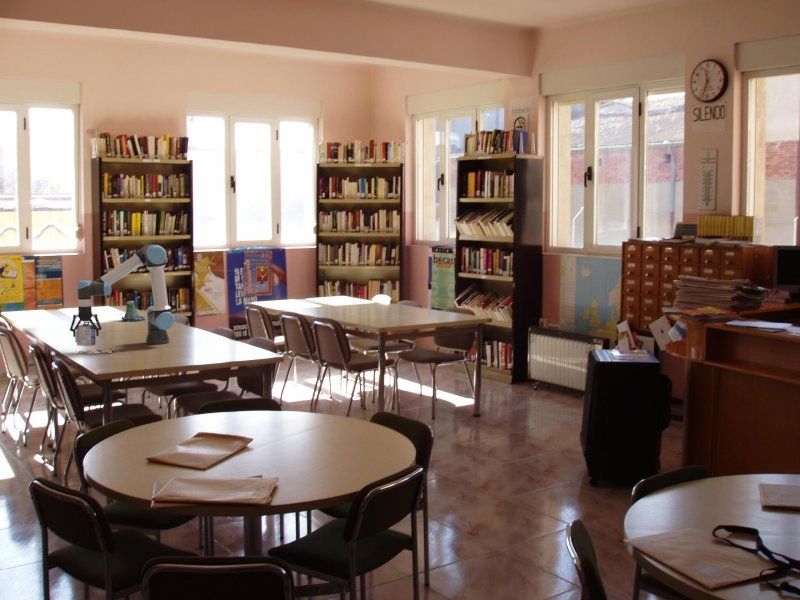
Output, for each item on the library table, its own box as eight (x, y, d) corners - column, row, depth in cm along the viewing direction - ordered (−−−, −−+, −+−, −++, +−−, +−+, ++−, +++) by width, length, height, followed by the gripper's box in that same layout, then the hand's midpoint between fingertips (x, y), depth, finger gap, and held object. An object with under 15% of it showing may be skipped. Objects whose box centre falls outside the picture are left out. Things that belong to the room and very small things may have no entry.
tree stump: (152, 319, 675) (148, 298, 669) (136, 329, 658) (133, 307, 651) (132, 317, 681) (129, 296, 675) (116, 326, 664) (113, 305, 657)
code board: (113, 349, 532) (113, 349, 532) (111, 353, 519) (111, 352, 519) (79, 351, 528) (79, 350, 527) (76, 354, 514) (76, 354, 514)
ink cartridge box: (96, 344, 523) (95, 321, 522) (91, 346, 518) (90, 322, 516) (81, 344, 525) (80, 321, 524) (76, 345, 520) (75, 322, 518)
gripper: (105, 304, 525) (106, 340, 528) (65, 305, 520) (66, 341, 522) (104, 306, 518) (105, 342, 520) (63, 307, 512) (65, 343, 515)
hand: (86, 341), depth 521 cm, fingers closed on ink cartridge box, 11 cm apart
